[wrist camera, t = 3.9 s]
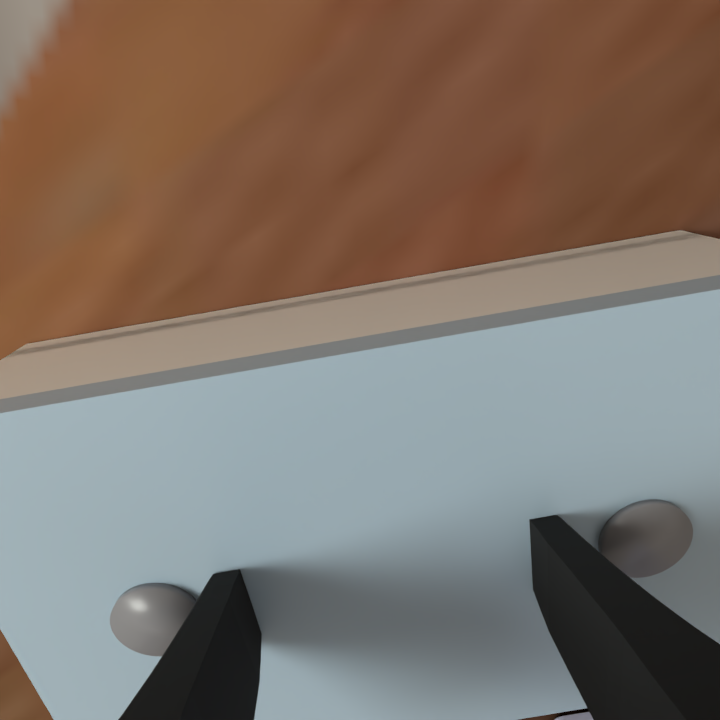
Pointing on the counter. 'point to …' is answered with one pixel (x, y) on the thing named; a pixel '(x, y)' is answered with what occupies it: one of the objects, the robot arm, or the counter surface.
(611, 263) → the base
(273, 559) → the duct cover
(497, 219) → the counter surface
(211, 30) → the counter surface
